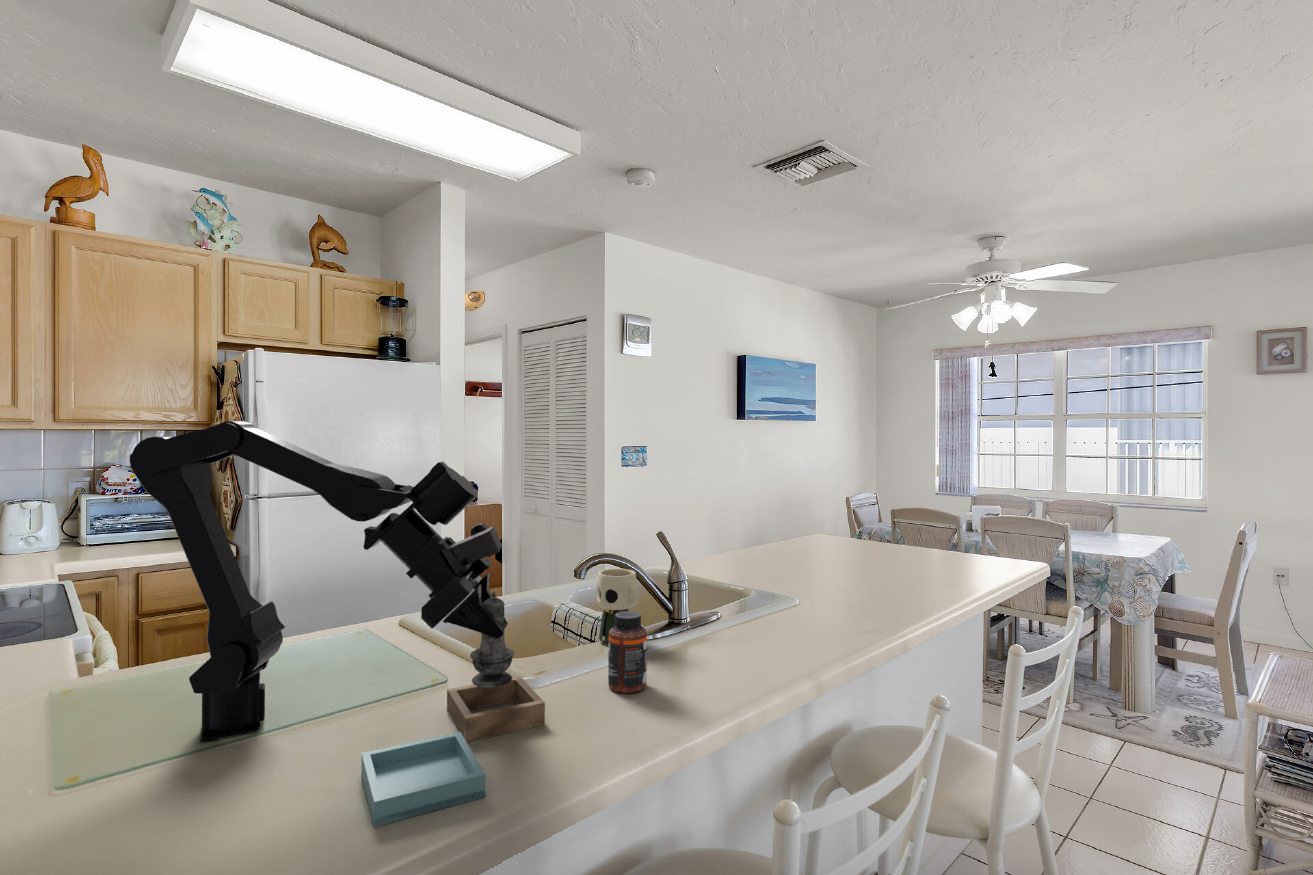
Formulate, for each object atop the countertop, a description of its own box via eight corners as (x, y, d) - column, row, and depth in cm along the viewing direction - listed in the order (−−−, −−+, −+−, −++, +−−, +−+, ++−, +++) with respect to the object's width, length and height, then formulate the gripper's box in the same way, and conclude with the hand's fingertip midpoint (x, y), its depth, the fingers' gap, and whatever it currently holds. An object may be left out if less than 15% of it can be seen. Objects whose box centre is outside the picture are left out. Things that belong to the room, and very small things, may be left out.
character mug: (582, 638, 124) (583, 570, 124) (610, 630, 129) (611, 564, 129) (621, 653, 117) (623, 580, 116) (650, 644, 122) (651, 574, 122)
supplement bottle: (654, 687, 102) (655, 614, 102) (627, 698, 98) (628, 622, 97) (627, 676, 106) (628, 606, 106) (599, 686, 102) (601, 613, 101)
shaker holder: (465, 742, 83) (465, 718, 83) (446, 710, 92) (447, 689, 92) (544, 724, 88) (544, 702, 88) (519, 696, 98) (519, 676, 97)
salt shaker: (502, 690, 86) (503, 598, 85) (461, 685, 87) (462, 594, 87) (521, 674, 91) (523, 588, 91) (482, 669, 93) (484, 584, 92)
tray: (373, 826, 66) (374, 801, 65) (361, 774, 75) (361, 752, 75) (485, 796, 71) (485, 773, 71) (460, 752, 81) (460, 731, 81)
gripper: (450, 516, 79) (541, 608, 80) (478, 499, 98) (551, 574, 99) (381, 581, 78) (473, 673, 80) (422, 551, 97) (496, 626, 98)
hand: (503, 631), depth 89 cm, fingers closed on salt shaker, 4 cm apart
